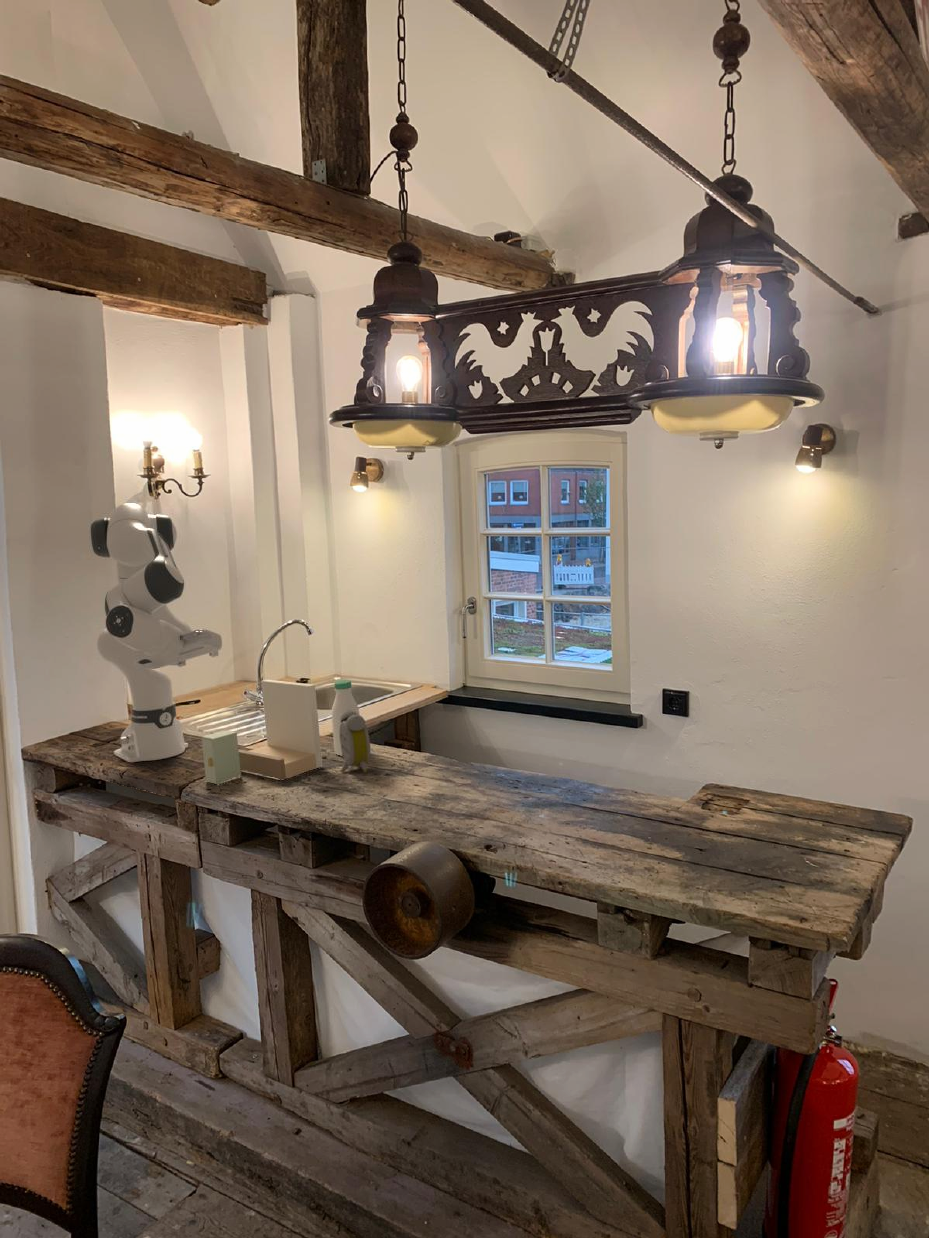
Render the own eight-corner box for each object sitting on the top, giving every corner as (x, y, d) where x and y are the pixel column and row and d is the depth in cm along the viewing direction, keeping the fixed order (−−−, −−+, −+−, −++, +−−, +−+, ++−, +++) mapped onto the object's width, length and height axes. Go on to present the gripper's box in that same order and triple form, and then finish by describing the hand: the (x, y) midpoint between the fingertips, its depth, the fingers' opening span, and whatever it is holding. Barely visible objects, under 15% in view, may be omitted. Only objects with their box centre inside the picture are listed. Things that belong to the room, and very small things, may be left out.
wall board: (233, 770, 230) (225, 689, 227) (274, 757, 240) (267, 679, 237) (281, 781, 217) (272, 695, 214) (322, 767, 227) (314, 684, 224)
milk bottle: (360, 755, 236) (354, 683, 233) (332, 757, 236) (326, 685, 233) (364, 748, 243) (358, 678, 241) (337, 749, 243) (331, 680, 241)
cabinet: (202, 783, 220) (197, 737, 218) (229, 775, 226) (225, 730, 224) (214, 786, 217) (209, 739, 215) (241, 777, 223) (236, 732, 221)
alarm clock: (373, 773, 218) (368, 715, 216) (346, 778, 216) (341, 719, 214) (361, 762, 229) (356, 707, 227) (335, 767, 226) (330, 710, 225)
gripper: (201, 618, 202) (235, 636, 214) (128, 640, 207) (165, 657, 220) (202, 642, 200) (236, 659, 212) (128, 665, 205) (165, 680, 217)
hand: (199, 658), depth 216 cm, fingers open, 8 cm apart
